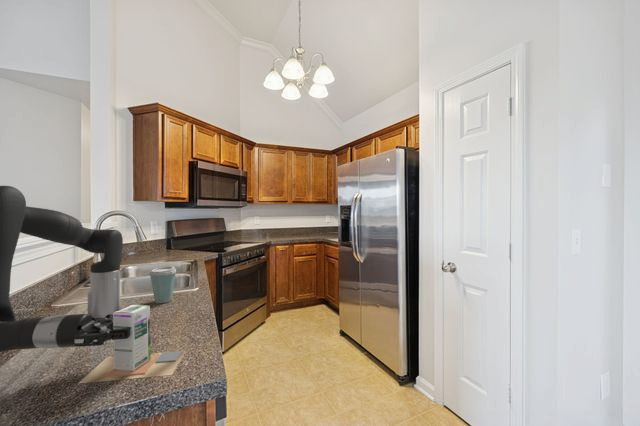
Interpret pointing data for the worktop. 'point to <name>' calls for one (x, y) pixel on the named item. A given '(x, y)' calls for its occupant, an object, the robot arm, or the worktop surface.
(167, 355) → the slate tile
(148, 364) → the terracotta pad
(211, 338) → the worktop surface
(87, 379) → the oak board
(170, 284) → the disposable coffee cup
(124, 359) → the syrup box
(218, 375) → the worktop surface
